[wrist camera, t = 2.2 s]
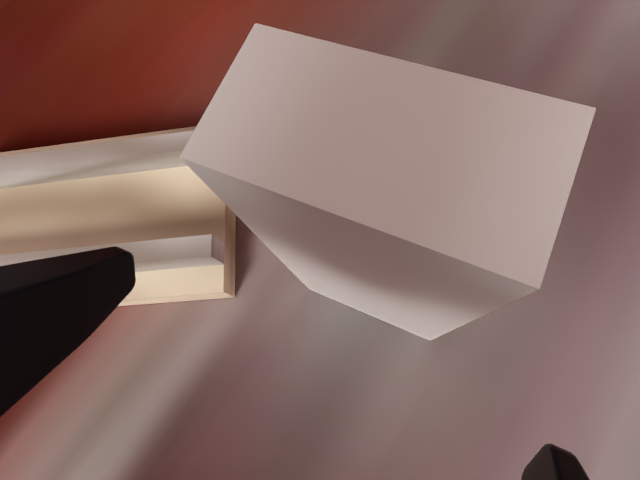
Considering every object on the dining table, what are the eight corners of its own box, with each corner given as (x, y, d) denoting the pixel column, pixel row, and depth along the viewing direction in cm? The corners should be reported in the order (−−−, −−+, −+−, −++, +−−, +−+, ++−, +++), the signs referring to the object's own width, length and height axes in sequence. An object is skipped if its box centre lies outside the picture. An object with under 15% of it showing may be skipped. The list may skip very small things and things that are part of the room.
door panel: (430, 340, 18) (539, 289, 5) (308, 289, 19) (179, 156, 7) (452, 279, 18) (597, 108, 6) (333, 234, 20) (254, 23, 8)
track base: (234, 297, 20) (209, 285, 17) (-49, 318, 22) (-115, 312, 19) (237, 137, 22) (216, 104, 19) (-15, 169, 24) (-68, 144, 21)
